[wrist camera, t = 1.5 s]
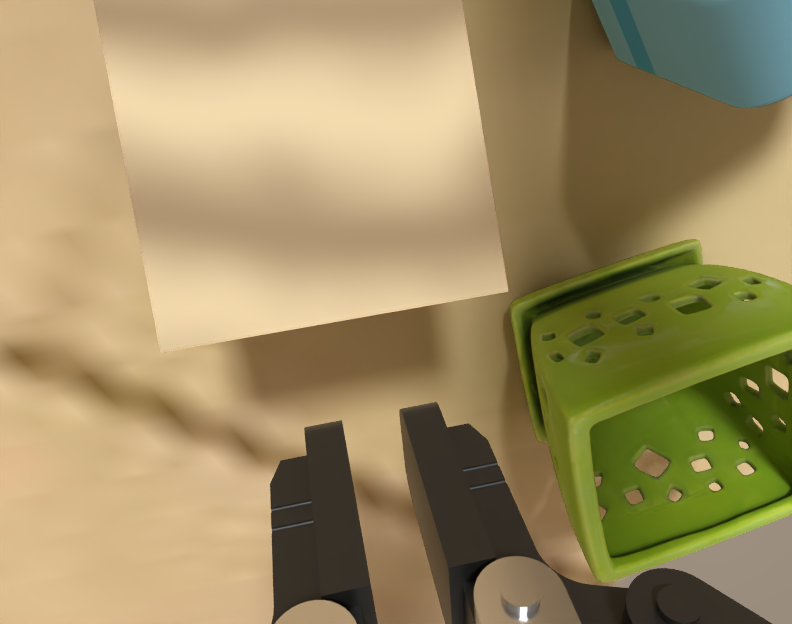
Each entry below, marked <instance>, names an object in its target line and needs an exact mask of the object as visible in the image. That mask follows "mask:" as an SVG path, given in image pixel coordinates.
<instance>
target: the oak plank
mask: <svg viewBox="0 0 792 624" xmlns="http://www.w3.org/2000/svg"><path fill="white" fill-rule="evenodd" d="M94 5H95V10H96V15H97V21H98V26H99V31H100V36H101V42H102V47H103V52H104V58H105V63H106V68H107V73H108V79H109V84H110V89H111V95H112V100H113V105H114V110H115V116H116V121H117V126H118V132H119V137H120V142H121V147H122V153H123V158H124V163H125V168H126V174H127V179H128V184H129V190H130V195H131V200H132V205H133V211H134V216H135V221H136V227H137V232H138V237H139V242H140V248H141V253H142V258H143V264H144V269H145V274H146V279H147V285H148V290H149V295H150V301H151V306H152V311H153V316H154V322H155V327H156V332H157V338H158V343H159V348H160V353H162V352H167V351H173V350H179V349H184V348H190V347H196V346H202V345H207V344H213V343H219V342H224V341H230V340H236V339H241V338H247V337H253V336H258V335H264V334H270V333H276V332H281V331H287V330H293V329H298V328H304V327H310V326H315V325H321V324H327V323H333V322H338V321H344V320H350V319H355V318H361V317H367V316H372V315H378V314H384V313H390V312H395V311H401V310H407V309H412V308H418V307H424V306H429V305H435V304H441V303H447V302H452V301H458V300H464V299H469V298H475V297H481V296H486V295H492V294H498V293H504V292H509V291H508V285H507V279H506V272H505V266H504V260H503V254H502V247H501V241H500V235H499V229H498V222H497V216H496V210H495V204H494V197H493V191H492V185H491V179H490V173H489V166H488V160H487V154H486V148H485V141H484V135H483V129H482V123H481V116H480V110H479V104H478V98H477V91H476V85H475V79H474V73H473V67H472V60H471V54H470V48H469V42H468V35H467V29H466V23H465V17H464V10H463V4H462V0H94Z"/></svg>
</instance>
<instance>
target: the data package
mask: <svg viewBox="0 0 792 624" xmlns="http://www.w3.org/2000/svg"><path fill="white" fill-rule="evenodd" d="M592 2H593V4H594V7H595V9H596V11H597V14H598V16H599V18H600V21H601V23H602V25H603V28H604V30H605V32H606V35H607V37H608V39H609V42H610V44H611V46H612V49H613V51H614V53H615V56H616V58H617V59H618V60H620V61H622V62H625V63H627V64H630V65H632V66H634V67H637V68H639V69H642V70H644V71H647V72H649V73H652V74H654V75H657V76H659V77H662V78H664V79H666V80H669V81H671V82H674V83H676V84H679V85H681V86H684V87H686V88H689V89H691V90H694V91H696V92H699V93H701V94H703V95H706V96H708V97H711V98H713V99H716V100H718V101H721V102H723V103H726V104H728V105H731V106H734V107H738V108H754V107H761V106H765V105H769V104H772V103H776V102H778V101H781V100H783V99H786V98H788V97H790V96H792V0H592Z"/></svg>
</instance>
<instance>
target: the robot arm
mask: <svg viewBox="0 0 792 624" xmlns="http://www.w3.org/2000/svg"><path fill="white" fill-rule="evenodd" d="M399 413H400V423H401V432H402V442H403V451H404V460H405V468H406V474H407V480H408V485H409V490H410V494H411V498H412V502H413V505H414V509H415V513H416V516H417V520H418V524H419V527H420V531H421V535H422V538H423V542H424V546H425V550H426V553H427V557H428V561H429V564H430V568H431V572H432V575H433V579H434V583H435V586H436V590H437V594H438V598H439V601H440V605H441V609H442V612H443V616H444V620H445V623H446V624H772V623H770V622H768V621H767V620H765V619H764V618H762V617H760V616H759V615H757V614H755V613H754V612H752V611H751V610H749V609H747V608H746V607H744V606H742V605H741V604H739V603H737V602H736V601H734V600H733V599H731V598H729V597H728V596H726V595H724V594H723V593H721V592H720V591H718V590H716V589H715V588H713V587H712V586H710V585H708V584H707V583H705V582H703V581H702V580H700V579H698V578H696V577H695V576H693V575H691V574H688V573H686V572H683V571H679V570H675V569H667V568H661V569H653V570H649V571H646V572H644V573H642V574H640V575H639V576H637V577H636V578H635V579H634V580H633V581H632V583H631V584H630V586H629V588H620V587H608V586H597V585H589V584H582V583H579V582H575V581H573V580H570V579H568V578H565V577H564V576H562V575H560V574H558V573H557V572H556V571H554V570H553V569H552V568H550V567H549V566H548V565H547V564H546V563H545V562H544V561H543V559H542V558H541V557H540V555H539V553H538V552H537V550H536V548H535V546H534V543H533V541H532V539H531V537H530V534H529V532H528V530H527V528H526V525H525V523H524V521H523V519H522V516H521V514H520V512H519V510H518V507H517V505H516V503H515V501H514V498H513V496H512V494H511V492H510V489H509V487H508V485H507V484H506V482H505V478H504V476H503V474H502V471H501V469H500V467H499V466H498V464H497V460H496V458H495V456H494V453H493V451H492V449H491V447H490V444H489V442H488V440H487V439H486V438H485V437H484V436H482V435H481V434H480V433H479V432H478V431H477V430H476V429H474V428H473V427H472V426H471V425H470V424H464V425H458V426H453V427H448V428H447V426H446V424H445V421H444V418H443V416H442V413H441V410H440V408H439V405H438V404H437V402H434V403H429V404H424V405H419V406H414V407H408V408H403V409H400V412H399ZM304 430H305V441H306V451H307V456H302V457H297V458H292V459H287V460H281V461H280V464H279V466H278V468H277V470H276V472H275V475H274V477H273V479H272V481H271V483H270V493H271V511H272V513H271V525H272V558H273V591H274V615H273V620H272V624H377V618H376V612H375V607H374V601H373V595H372V590H371V584H370V578H369V572H368V567H367V561H366V555H365V550H364V544H363V538H362V533H361V527H360V521H359V515H358V510H357V504H356V498H355V493H354V487H353V481H352V476H351V470H350V464H349V459H348V453H347V447H346V441H345V436H344V430H343V424H342V420H341V421H336V422H331V423H325V424H320V425H315V426H310V427H305V429H304Z"/></svg>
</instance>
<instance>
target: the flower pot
mask: <svg viewBox="0 0 792 624" xmlns="http://www.w3.org/2000/svg"><path fill="white" fill-rule="evenodd" d="M745 299H749V301H744V300H745ZM510 315H511V321H512V328H513V333H514V339H515V344H516V349H517V355H518V360H519V366H520V371H521V376H522V380H523V385H524V389H525V394H526V398H527V403H528V408H529V413H530V417H531V422H532V426H533V429H534V432H535V436H536V438H537V440H538V441H539V442H547V441H548V444H549V449H550V453H551V457H552V461H553V465H554V469H555V473H556V476H557V480H558V484H559V487H560V490H561V494H562V497H563V500H564V503H565V506H566V510H567V513H568V516H569V519H570V521H571V524H572V527H573V530H574V532H575V535H576V537H577V540H578V542H579V544H580V547H581V549H582V551H583V554H584V556H585V558H586V560H587V563H588V565H589V567H590V569H591V571H592V573H593V575H594V576H595V578H596V579H597V580H598V581H600V582H610V581H614V580H617V579H620V578H623V577H626V576H629V575H632V574H634V573H637V572H640V571H643V570H646V569H649V568H652V567H655V566H657V565H660V564H663V563H666V562H669V561H671V560H674V559H677V558H680V557H682V556H685V555H688V554H691V553H693V552H696V551H699V550H701V549H704V548H707V547H709V546H712V545H714V544H717V543H720V542H722V541H725V540H727V539H730V538H732V537H735V536H738V535H740V534H743V533H745V532H748V531H750V530H753V529H756V528H758V527H761V526H764V525H766V524H768V523H771V522H773V521H776V520H778V519H781V518H783V517H786V516H788V515H790V514H792V285H790V284H788V283H786V282H783V281H780V280H778V279H775V278H772V277H769V276H766V275H762V274H759V273H755V272H751V271H747V270H743V269H738V268H733V267H727V266H719V265H703V262H702V248H701V244H700V241H698V240H696V239H693V240H685V241H681V242H677V243H674V244H671V245H668V246H665V247H661V248H658V249H655V250H652V251H649V252H646V253H643V254H640V255H637V256H635V257H632V258H629V259H626V260H623V261H620V262H617V263H614V264H611V265H608V266H605V267H602V268H599V269H596V270H593V271H591V272H588V273H585V274H582V275H579V276H576V277H574V278H571V279H568V280H565V281H562V282H560V283H557V284H554V285H551V286H549V287H546V288H543V289H541V290H538V291H535V292H533V293H530V294H528V295H525V296H523V297H520V298H518V299H516V300H514V301H513V302H512V303H511V305H510ZM772 368H774V369H775V370H777V371H779V372H781V373H782V374H784V375H785V376H786V377H787V378H788V381H789V391H788V392H786V391H784V390H783V389H781V388H780V387H779V386H777V385H776V384H775V383H774V382H773V378H772ZM747 379H750V380H752V381H753V382H754V383H756V384H757V385H758V387H759V391H757V390H755V389H753V388H751V387H750V386H748V384H747ZM730 392H732V393H733V394H735V395H736V396H737V398H738V399H739V401H740V403H737V402H735V401H734V399H733V397H732V395H731V394H730ZM753 417H754V418H755V419H756V420H757V421H758V422H759V423H760V424H761V426H762V427H763V431H762V430H761V429H760V428H759V427H758V426H757V425H756V424H755V422H754V421H753V419H752V418H753ZM779 418H781V419H782V420H783V421H784V423H785V424H786V426H785V425H784V424H783V423H782V422H781V421H780V419H779ZM700 431H712V432H713V434H714V438H713V439H712V440H709V441H701V440H700V439H699V436H698V432H700ZM739 441H742V442H746V443H747V444H748V446H749V448H748V449H744V448H741V447H740V446H739ZM646 449H649V450H651V451H653V452H654V453H656V454H658V455H660V456H662V457H664V458H665V459H667V460H668V461H669V462H670V463H669V465H668V467H667V468H666V469H665V471H664V472H663V473H662V474H661V475H660V476H659V477H653V476H651V475H648V474H646V473H644V472H642V471H640V470H639V469H637V468H636V466H635V465H634V464H635V462H636V461H637V459H638V458H639V457H640V456H641V454H642V453H643V452H644V451H645V450H646ZM702 458H705V459H707V461H708V462H709V464H710V466H711V469H709V470H705V471H701V472H695V471H694V469H693V467H692V465H691V462H693V461H695V460H698V459H702ZM742 463H748V464H749V465H750V466H751V467H752V468H753V469H754V471H755V472H754V473H752V474H750V475H747V476H746V475H743V474H742V473H741V472H740V471H739V470H738V469H737V466H738V465H740V464H742ZM599 476H601V477H602V481H601V485H600V486H598V487H596V486H595V479H594V477H599ZM714 482H715V483H717V484H719V485H720V487H721V489H720V490H719V491H712V490H711V489H710V488H709V487H708V486H709V485H710V484H711V483H714ZM636 489H637V490H639V491H640V493H641V495H642V497H643V501H642V502H640V503H638V504H636V505H632V504H630V503H629V501H628V500H627V499H626V497H625V494H626V493H628V492H630V491H633V490H636ZM671 489H675V490H677V491H679V492H680V493H681V494H682V496H681V498H680V499H679V500H678V501H676V502H674V501H671V500H670V499H669V498H668V495H669V492H670V490H671ZM599 506H601V507H602V508H604V509H605V510H606V511H607V512H606V514H605V516H604V518H603V520H602V521H601V516H600V510H599Z"/></svg>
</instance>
